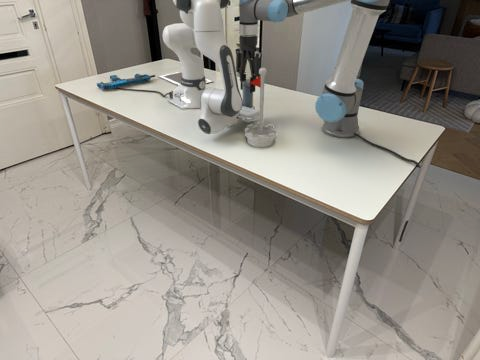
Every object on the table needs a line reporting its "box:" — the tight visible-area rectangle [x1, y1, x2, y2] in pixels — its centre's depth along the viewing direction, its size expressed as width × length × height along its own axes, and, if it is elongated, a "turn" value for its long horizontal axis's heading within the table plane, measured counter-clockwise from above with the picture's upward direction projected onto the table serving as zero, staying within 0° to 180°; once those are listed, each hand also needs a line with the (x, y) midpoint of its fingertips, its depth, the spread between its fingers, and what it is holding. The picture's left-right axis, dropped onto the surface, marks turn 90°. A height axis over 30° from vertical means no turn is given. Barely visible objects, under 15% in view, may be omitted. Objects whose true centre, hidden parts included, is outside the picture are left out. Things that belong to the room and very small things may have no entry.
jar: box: [241, 86, 254, 123], centre depth 155 cm, size 5×5×18 cm
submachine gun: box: [96, 73, 156, 91], centre depth 208 cm, size 34×4×25 cm
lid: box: [242, 78, 250, 87], centre depth 150 cm, size 5×5×2 cm
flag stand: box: [244, 67, 278, 148], centre depth 133 cm, size 13×13×30 cm
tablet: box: [157, 70, 214, 86], centre depth 214 cm, size 32×20×1 cm, turn 41°
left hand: (248, 106), depth 157 cm, fingers closed on jar, 5 cm apart
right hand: (247, 90), depth 152 cm, fingers closed on lid, 5 cm apart
